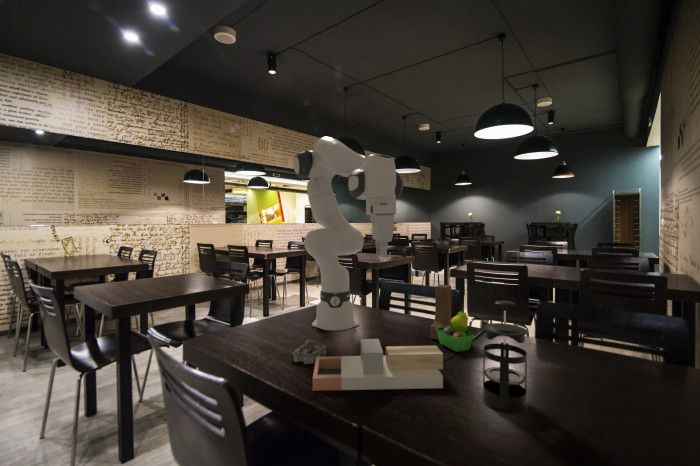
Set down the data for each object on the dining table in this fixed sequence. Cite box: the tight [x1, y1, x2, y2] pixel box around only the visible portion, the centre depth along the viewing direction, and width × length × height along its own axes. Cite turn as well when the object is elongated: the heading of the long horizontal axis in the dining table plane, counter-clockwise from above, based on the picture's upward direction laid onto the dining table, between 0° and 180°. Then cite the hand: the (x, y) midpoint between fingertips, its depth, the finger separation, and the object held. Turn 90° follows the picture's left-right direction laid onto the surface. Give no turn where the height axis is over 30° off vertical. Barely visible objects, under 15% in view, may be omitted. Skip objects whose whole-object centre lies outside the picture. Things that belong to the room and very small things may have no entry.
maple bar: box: [385, 345, 444, 370], centre depth 92 cm, size 6×14×4 cm, turn 92°
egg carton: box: [291, 338, 327, 365], centre depth 106 cm, size 11×8×4 cm
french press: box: [481, 300, 529, 415], centre depth 79 cm, size 12×9×23 cm
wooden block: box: [429, 284, 452, 341], centre depth 125 cm, size 9×4×18 cm, turn 142°
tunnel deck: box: [312, 338, 444, 392], centre depth 92 cm, size 14×32×8 cm, turn 92°
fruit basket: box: [436, 311, 475, 353], centre depth 115 cm, size 11×9×11 cm
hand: (381, 255), depth 102 cm, fingers open, 8 cm apart
